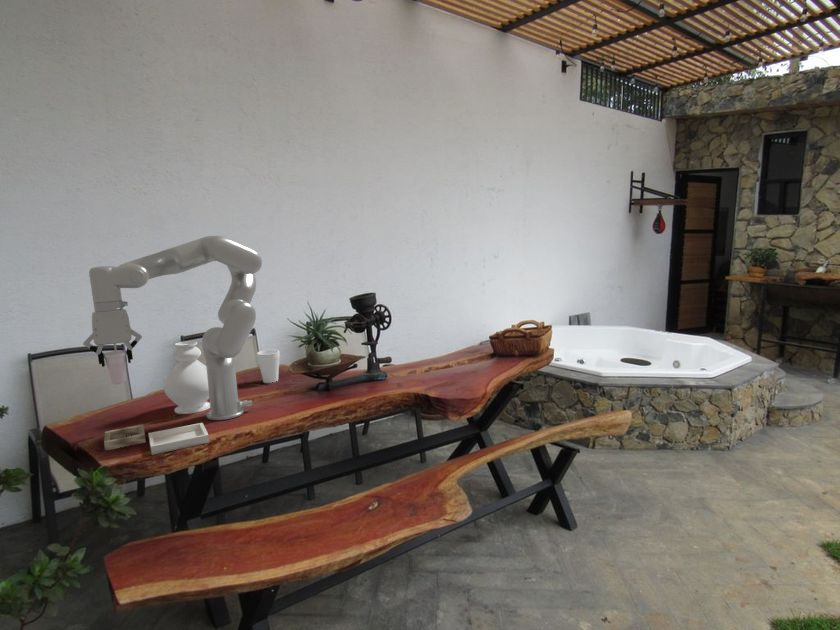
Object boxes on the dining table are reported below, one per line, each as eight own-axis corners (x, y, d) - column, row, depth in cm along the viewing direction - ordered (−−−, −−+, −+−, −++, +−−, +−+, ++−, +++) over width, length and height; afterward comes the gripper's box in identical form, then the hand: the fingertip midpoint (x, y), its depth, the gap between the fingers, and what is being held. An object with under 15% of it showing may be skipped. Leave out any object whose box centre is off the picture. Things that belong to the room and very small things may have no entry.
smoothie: (134, 379, 167) (129, 336, 165) (124, 385, 161) (118, 340, 158) (114, 380, 167) (108, 337, 165) (103, 386, 160) (96, 341, 158)
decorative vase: (161, 408, 197) (153, 343, 194) (209, 397, 209) (203, 336, 205) (174, 420, 184) (166, 350, 180) (225, 408, 195) (219, 342, 191)
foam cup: (277, 376, 237) (275, 348, 235) (284, 381, 229) (282, 352, 227) (256, 380, 231) (254, 352, 229) (263, 385, 224) (261, 355, 222)
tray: (203, 429, 174) (202, 422, 173) (209, 442, 162) (208, 434, 162) (149, 440, 166) (148, 433, 165) (151, 454, 155) (150, 446, 154)
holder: (144, 431, 174) (143, 424, 173) (145, 442, 164) (144, 434, 164) (105, 439, 168) (104, 431, 168) (105, 450, 159) (104, 442, 159)
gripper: (140, 302, 167) (147, 357, 170) (75, 308, 159) (84, 366, 162) (141, 305, 161) (148, 361, 164) (74, 311, 152) (83, 371, 155)
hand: (116, 363), depth 163 cm, fingers closed on smoothie, 6 cm apart
